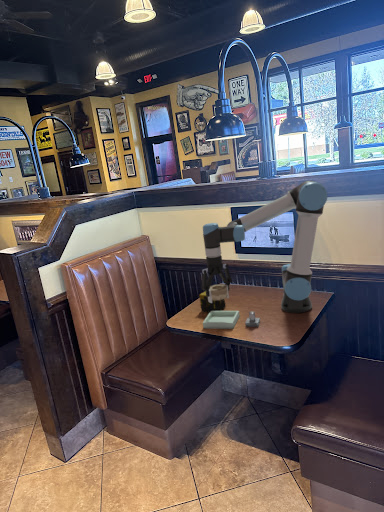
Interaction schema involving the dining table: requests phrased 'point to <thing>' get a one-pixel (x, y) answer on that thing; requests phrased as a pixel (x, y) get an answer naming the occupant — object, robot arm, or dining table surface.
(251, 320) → the grey peg stand
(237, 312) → the tray
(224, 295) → the ring
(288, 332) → the dining table surface
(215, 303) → the yellow cube with holes
